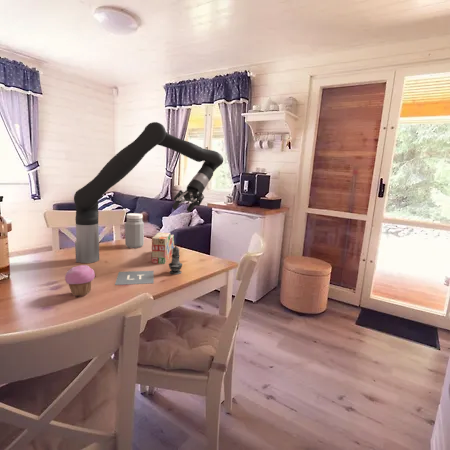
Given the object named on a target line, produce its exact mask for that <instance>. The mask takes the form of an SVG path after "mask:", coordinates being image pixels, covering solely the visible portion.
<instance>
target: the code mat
mask: <svg viewBox="0 0 450 450" xmlns="http://www.w3.org/2000/svg"><path fill="white" fill-rule="evenodd" d="M154 275H155V273H154V270H138V271H136V270H135V271H119V272H118V275H117V277H116V281H115V283H114V285H115V286H123V285H125V286H126V285H147V284H152V285H153V284H155V281H154V280H155V279H154V277H155V276H154Z"/></svg>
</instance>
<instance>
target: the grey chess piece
mask: <svg viewBox="0 0 450 450" xmlns="http://www.w3.org/2000/svg"><path fill="white" fill-rule="evenodd" d="M180 256H181V255H180V248H179V247H177V245H174V248H173V249H172V255H171V262H169V263H168V266H169V271H168V272H169V274H170V275H173V276H174V275H175V276H176V275H177V276H178V275H180V274H182V271H181V269H182V266H183V263H182V262H180Z"/></svg>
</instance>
